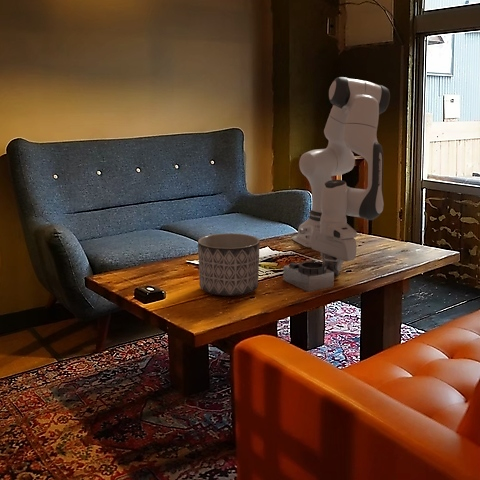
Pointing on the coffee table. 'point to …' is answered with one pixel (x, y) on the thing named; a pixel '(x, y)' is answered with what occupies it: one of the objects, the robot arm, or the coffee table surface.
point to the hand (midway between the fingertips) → (331, 267)
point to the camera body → (309, 275)
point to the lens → (331, 264)
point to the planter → (228, 263)
